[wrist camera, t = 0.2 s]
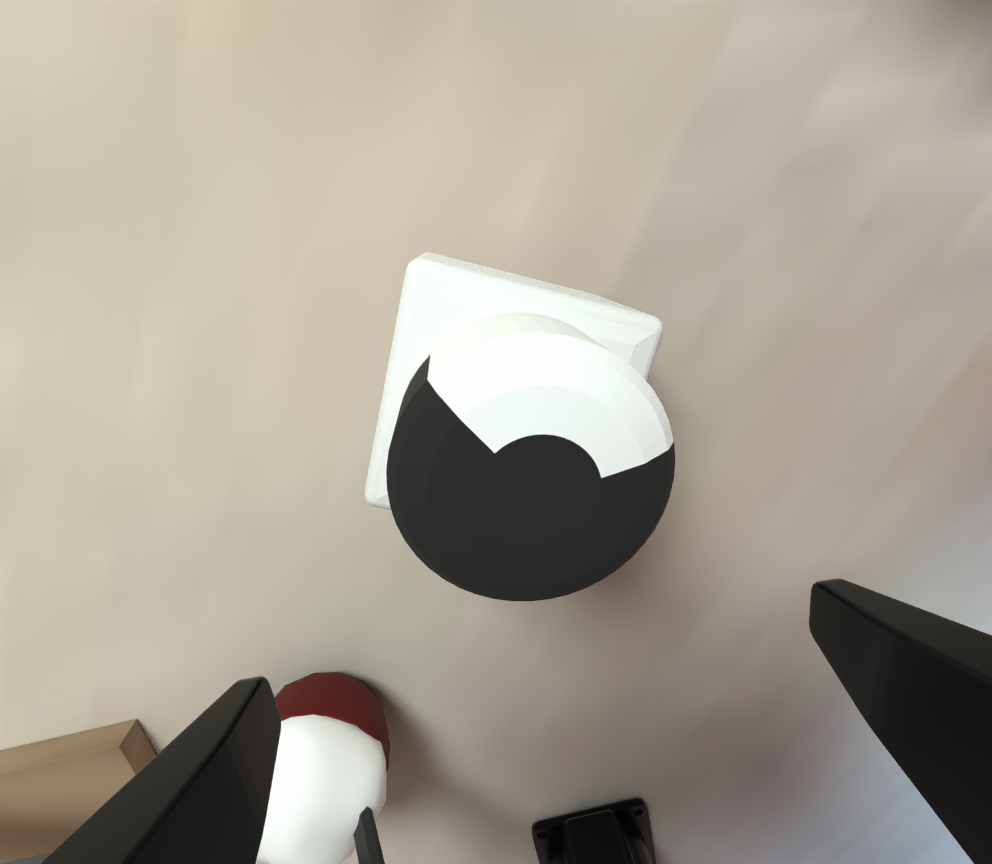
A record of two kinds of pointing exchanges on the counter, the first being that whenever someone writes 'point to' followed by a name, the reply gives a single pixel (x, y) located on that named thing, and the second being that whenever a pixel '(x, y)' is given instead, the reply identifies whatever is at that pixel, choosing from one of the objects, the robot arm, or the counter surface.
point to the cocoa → (327, 773)
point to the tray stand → (63, 786)
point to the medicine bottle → (519, 431)
